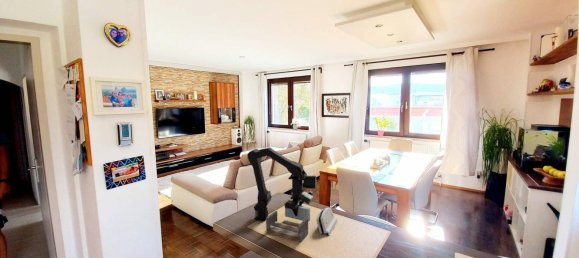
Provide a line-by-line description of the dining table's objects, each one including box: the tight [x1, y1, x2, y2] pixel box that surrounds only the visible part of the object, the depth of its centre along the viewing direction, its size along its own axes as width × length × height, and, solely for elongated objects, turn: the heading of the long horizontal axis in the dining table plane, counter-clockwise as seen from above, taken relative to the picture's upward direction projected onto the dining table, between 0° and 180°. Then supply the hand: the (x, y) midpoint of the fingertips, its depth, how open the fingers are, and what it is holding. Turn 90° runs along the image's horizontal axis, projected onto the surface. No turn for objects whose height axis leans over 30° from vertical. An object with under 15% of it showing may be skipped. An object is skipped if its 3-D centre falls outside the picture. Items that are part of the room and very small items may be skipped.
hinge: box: [316, 207, 338, 236], centre depth 128 cm, size 17×5×10 cm, turn 155°
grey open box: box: [265, 210, 309, 244], centre depth 121 cm, size 19×9×8 cm, turn 63°
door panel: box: [284, 205, 311, 223], centre depth 132 cm, size 14×2×7 cm, turn 63°
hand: (297, 215), depth 132 cm, fingers closed on door panel, 2 cm apart
